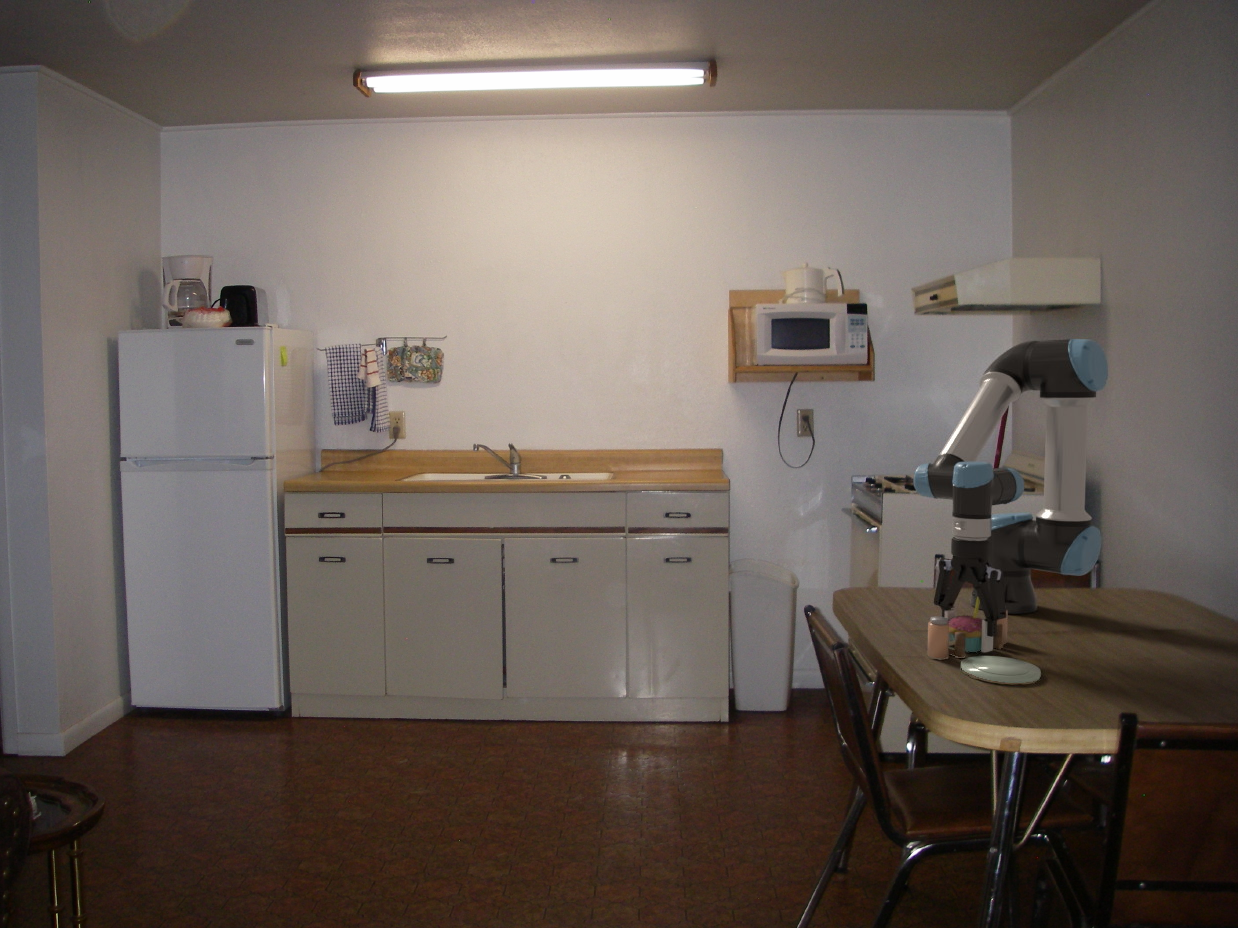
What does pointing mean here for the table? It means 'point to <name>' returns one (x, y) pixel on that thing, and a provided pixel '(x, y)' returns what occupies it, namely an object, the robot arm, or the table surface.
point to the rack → (961, 638)
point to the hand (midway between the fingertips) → (967, 645)
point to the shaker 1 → (938, 637)
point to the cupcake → (968, 629)
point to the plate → (1001, 669)
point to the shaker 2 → (1004, 628)
